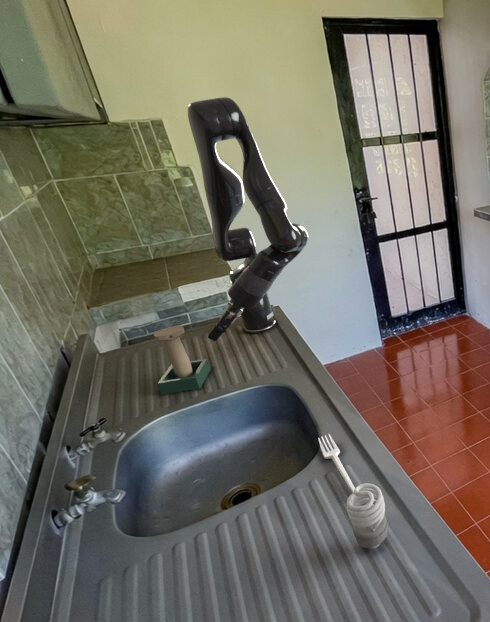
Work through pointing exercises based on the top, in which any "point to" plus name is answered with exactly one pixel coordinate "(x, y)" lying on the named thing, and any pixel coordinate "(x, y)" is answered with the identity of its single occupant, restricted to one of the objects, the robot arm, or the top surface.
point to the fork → (335, 459)
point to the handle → (176, 350)
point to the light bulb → (368, 515)
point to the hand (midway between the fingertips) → (216, 331)
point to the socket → (176, 384)
